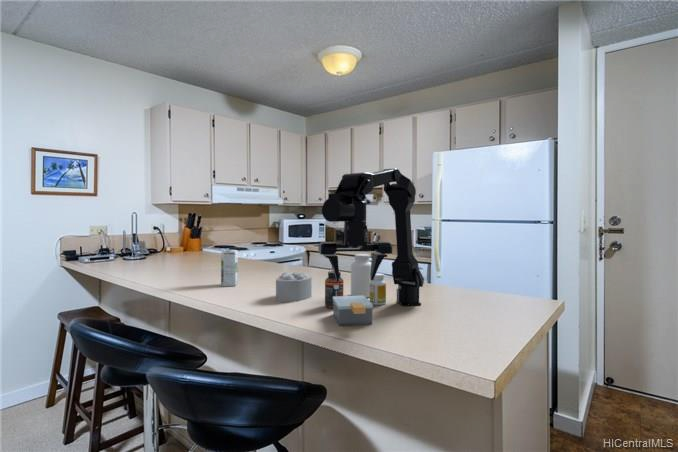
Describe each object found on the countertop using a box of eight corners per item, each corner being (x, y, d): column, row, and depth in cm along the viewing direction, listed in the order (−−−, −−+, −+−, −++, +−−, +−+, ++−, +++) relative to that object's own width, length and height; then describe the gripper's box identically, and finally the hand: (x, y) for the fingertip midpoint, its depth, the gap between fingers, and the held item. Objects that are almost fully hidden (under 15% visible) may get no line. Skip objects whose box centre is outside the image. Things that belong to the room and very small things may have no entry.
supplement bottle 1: (341, 309, 111) (341, 273, 110) (323, 308, 112) (322, 272, 112) (345, 304, 117) (345, 270, 116) (327, 303, 118) (327, 269, 117)
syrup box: (223, 283, 150) (223, 249, 150) (238, 283, 151) (237, 249, 150) (220, 286, 145) (220, 251, 144) (235, 286, 145) (235, 251, 145)
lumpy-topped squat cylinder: (315, 296, 128) (315, 272, 128) (289, 304, 118) (289, 278, 117) (294, 292, 134) (294, 269, 134) (268, 299, 124) (268, 274, 124)
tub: (362, 312, 107) (363, 298, 107) (372, 324, 96) (372, 307, 96) (333, 314, 106) (333, 299, 106) (339, 326, 95) (339, 309, 95)
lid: (363, 297, 107) (363, 292, 107) (377, 312, 91) (377, 306, 91) (332, 299, 106) (332, 293, 106) (341, 314, 90) (341, 308, 90)
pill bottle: (376, 294, 130) (376, 254, 130) (366, 299, 124) (366, 256, 123) (357, 292, 135) (357, 252, 134) (346, 296, 128) (346, 255, 127)
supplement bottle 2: (387, 301, 120) (387, 273, 120) (384, 305, 115) (384, 276, 115) (371, 300, 122) (371, 272, 122) (367, 304, 117) (368, 275, 117)
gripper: (380, 220, 102) (379, 274, 103) (316, 220, 99) (315, 276, 100) (393, 221, 91) (392, 281, 92) (321, 221, 88) (321, 284, 89)
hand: (354, 280), depth 93 cm, fingers open, 9 cm apart
